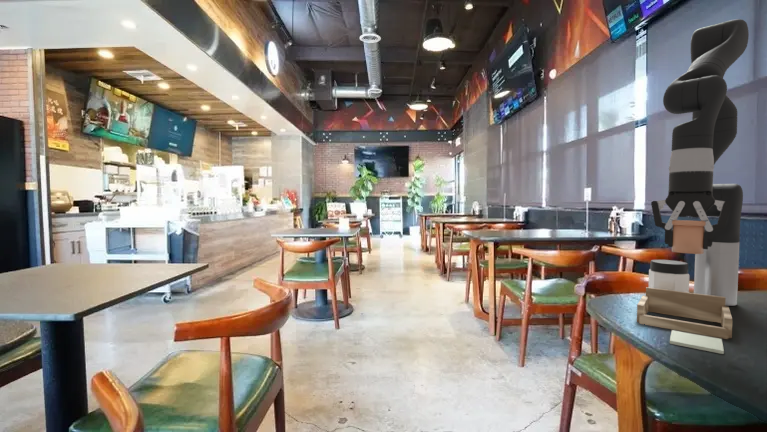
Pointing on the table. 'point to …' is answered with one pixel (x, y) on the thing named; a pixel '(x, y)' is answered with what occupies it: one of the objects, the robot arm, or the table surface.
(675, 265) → the jar
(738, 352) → the table surface
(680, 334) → the pad
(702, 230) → the pot
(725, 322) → the wooden tray
